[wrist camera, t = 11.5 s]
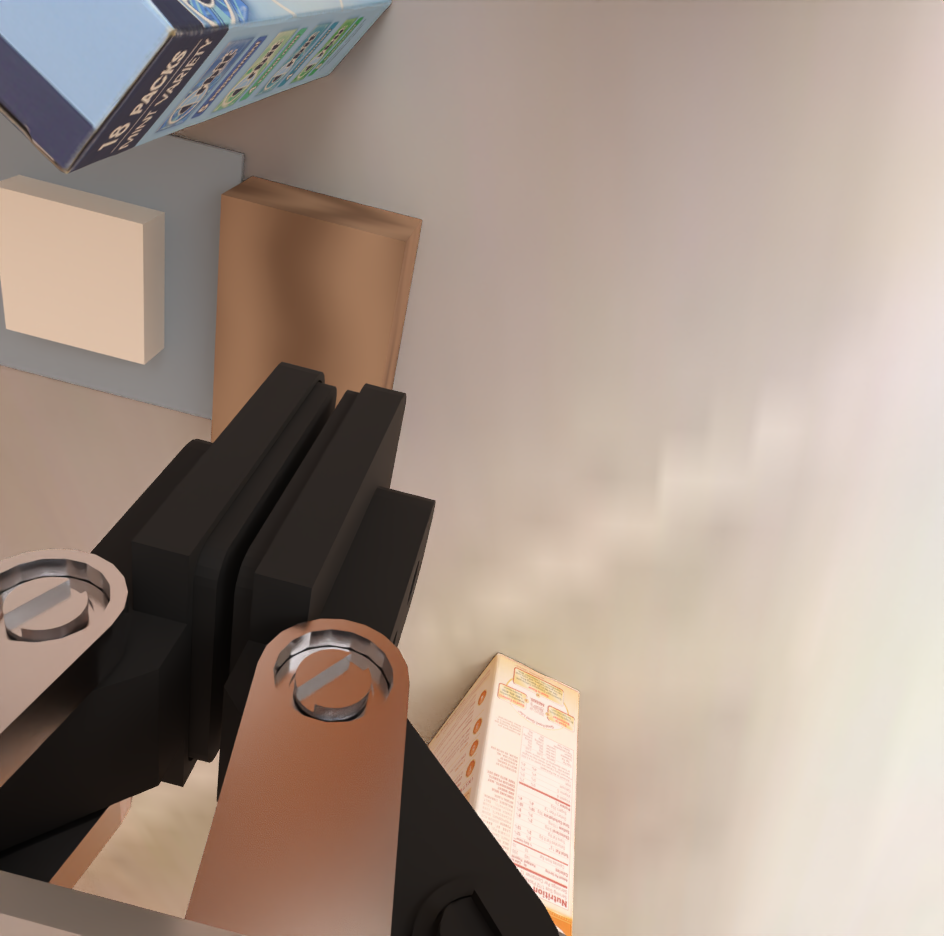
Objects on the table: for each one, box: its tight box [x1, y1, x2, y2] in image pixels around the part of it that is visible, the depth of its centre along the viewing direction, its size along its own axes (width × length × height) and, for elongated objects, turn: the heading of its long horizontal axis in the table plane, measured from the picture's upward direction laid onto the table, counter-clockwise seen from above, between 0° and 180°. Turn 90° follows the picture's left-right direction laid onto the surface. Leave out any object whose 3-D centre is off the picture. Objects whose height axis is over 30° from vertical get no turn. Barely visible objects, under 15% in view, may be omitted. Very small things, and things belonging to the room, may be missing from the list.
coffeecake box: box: [428, 653, 580, 936], centre depth 52 cm, size 15×7×20 cm, turn 153°
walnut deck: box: [211, 176, 422, 443], centre depth 43 cm, size 9×14×4 cm, turn 167°
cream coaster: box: [0, 175, 165, 365], centre depth 44 cm, size 8×8×2 cm
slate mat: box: [0, 113, 244, 420], centre depth 45 cm, size 15×16×1 cm
